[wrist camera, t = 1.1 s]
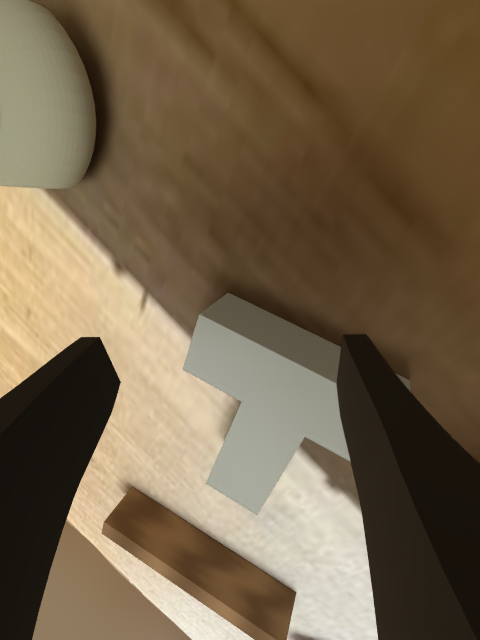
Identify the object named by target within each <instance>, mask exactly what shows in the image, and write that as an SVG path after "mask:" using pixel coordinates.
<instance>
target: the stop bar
mask: <svg viewBox="0 0 480 640" xmlns="http://www.w3.org/2000/svg"><path fill="white" fill-rule="evenodd" d="M102 534H103V535H105V536H106V537H108V538H109V539H110V540H112V541H113V542H115V543H116V544H118V545H119V546H121V547H122V548H123V549H125V550H126V551H128V552H129V553H131V554H132V555H134V556H135V557H136V558H138V559H139V560H141V561H142V562H144V563H145V564H147V565H148V566H149V567H151V568H152V569H154V570H155V571H157V572H158V573H159V574H161V575H162V576H164V577H165V578H167V579H168V580H170V581H171V582H172V583H174V584H175V585H177V586H178V587H180V588H181V589H183V590H184V591H185V592H187V593H188V594H190V595H191V596H193V597H194V598H196V599H197V600H198V601H200V602H201V603H203V604H204V605H206V606H207V607H208V608H210V609H211V610H213V611H214V612H216V613H217V614H219V615H220V616H221V617H223V618H224V619H226V620H227V621H229V622H230V623H232V624H233V625H234V626H236V627H237V628H239V629H240V630H242V631H243V632H244V633H246V634H247V635H249V636H250V637H252V638H253V639H255V640H286V639H287V634H288V630H289V625H290V620H291V615H292V610H293V606H294V601H295V596H296V592H294V591H293V590H291V589H290V588H288V587H287V586H285V585H283V584H282V583H280V582H279V581H277V580H276V579H274V578H273V577H271V576H270V575H268V574H266V573H265V572H263V571H262V570H260V569H259V568H257V567H256V566H254V565H253V564H251V563H249V562H248V561H246V560H245V559H243V558H242V557H240V556H239V555H237V554H236V553H234V552H232V551H231V550H229V549H228V548H226V547H225V546H223V545H222V544H220V543H219V542H217V541H215V540H214V539H212V538H211V537H209V536H208V535H206V534H205V533H203V532H202V531H200V530H198V529H197V528H195V527H194V526H192V525H191V524H189V523H188V522H186V521H185V520H183V519H182V518H180V517H178V516H177V515H175V514H174V513H172V512H171V511H169V510H168V509H166V508H165V507H163V506H161V505H160V504H158V503H157V502H155V501H154V500H152V499H151V498H149V497H148V496H146V495H144V494H143V493H141V492H140V491H138V490H137V489H135V488H134V487H132V488H131V489H130V490H129V492H128V493H127V494H126V495H125V497H124V498H123V499H122V500H121V501H120V503H119V504H118V505H117V506H116V508H115V509H114V510H113V511H112V513H111V514H110V515H109V516H108V518H107V519H106V520H105V521H104V524H103V529H102Z"/></svg>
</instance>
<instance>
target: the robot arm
mask: <svg viewBox="0 0 480 640" xmlns="http://www.w3.org/2000/svg"><path fill="white" fill-rule="evenodd" d="M120 383H121V382H120V380H119V378H118V375H117V373H116V371H115V369H114V367H113V365H112V362H111V360H110V358H109V356H108V354H107V352H106V349H105V347H104V345H103V343H102V341H101V339H100V337H81V338H79V339H78V340H77V341H75V342H74V343H72V344H71V345H70V346H68V347H67V348H66V349H64V350H63V351H62V352H60V353H59V354H58V355H56V356H55V357H54V358H53V359H51V360H50V361H49V362H47V363H46V364H45V365H44V366H42V367H41V368H40V369H38V370H37V371H36V372H35V373H33V374H32V375H31V376H29V377H28V378H27V379H26V380H24V381H23V382H22V383H20V384H19V385H18V386H16V387H15V388H14V389H12V390H11V391H10V392H8V393H7V394H6V395H4V396H3V397H1V398H0V640H32V637H33V633H34V629H35V625H36V621H37V616H38V612H39V608H40V605H41V601H42V598H43V594H44V590H45V587H46V583H47V580H48V576H49V572H50V568H51V565H52V562H53V559H54V556H55V553H56V550H57V546H58V543H59V540H60V537H61V534H62V530H63V527H64V524H65V521H66V519H67V516H68V513H69V510H70V507H71V504H72V501H73V498H74V496H75V493H76V491H77V488H78V486H79V484H80V481H81V479H82V477H83V475H84V472H85V470H86V468H87V466H88V464H89V461H90V459H91V457H92V455H93V453H94V451H95V448H96V446H97V444H98V442H99V440H100V438H101V435H102V433H103V431H104V429H105V426H106V424H107V422H108V420H109V417H110V415H111V413H112V410H113V407H114V403H115V400H116V397H117V393H118V390H119V386H120ZM336 385H337V394H338V403H339V411H340V418H341V423H342V427H343V431H344V436H345V440H346V444H347V448H348V453H349V457H350V461H351V465H352V470H353V474H354V478H355V482H356V487H357V491H358V495H359V500H360V506H361V511H362V517H363V524H364V531H365V538H366V545H367V552H368V560H369V568H370V575H371V583H372V590H373V598H374V607H375V615H376V624H377V632H378V640H480V464H479V463H478V462H477V461H476V460H475V459H474V458H473V457H472V456H471V455H470V454H469V453H468V452H467V451H466V450H464V449H463V448H462V447H461V446H460V445H459V444H458V443H457V442H456V441H455V440H454V439H453V438H452V437H451V436H450V435H449V434H448V432H447V431H446V430H445V429H444V428H443V427H442V426H441V425H440V424H439V423H438V422H437V421H436V420H435V419H434V418H433V417H432V416H431V414H430V413H429V412H428V411H427V410H426V409H425V408H424V407H423V406H422V404H421V403H420V402H419V401H418V400H417V399H416V398H415V396H414V395H413V394H412V393H411V392H410V390H409V389H408V388H407V387H406V386H405V384H404V383H403V382H402V381H401V380H400V378H399V377H398V376H397V375H396V373H395V372H394V371H393V370H392V368H391V367H390V366H389V364H388V363H387V362H386V361H385V359H384V358H383V357H382V355H381V354H380V352H379V351H378V350H377V348H376V347H375V346H374V344H373V343H372V341H371V340H370V338H369V337H368V336H367V335H366V334H353V335H343V336H342V344H341V352H340V359H339V367H338V375H337V383H336Z"/></svg>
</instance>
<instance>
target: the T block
mask: <svg viewBox="0 0 480 640" xmlns="http://www.w3.org/2000/svg"><path fill="white" fill-rule="evenodd" d="M340 352H341V347H340V346H338V345H336V344H334V343H332V342H329V341H327V340H325V339H323V338H321V337H319V336H317V335H315V334H313V333H311V332H309V331H307V330H305V329H303V328H300V327H298V326H296V325H294V324H292V323H290V322H288V321H286V320H284V319H282V318H280V317H278V316H276V315H274V314H272V313H269V312H267V311H265V310H263V309H261V308H259V307H257V306H255V305H253V304H251V303H249V302H247V301H245V300H243V299H240V298H238V297H236V296H234V295H232V294H230V293H227V294H226V295H224V296H223V297H222V298H220V299H219V300H218V301H216V302H215V303H214V304H212V305H211V306H210V307H208V308H207V309H206V310H204V311H203V312H202V313H200V314H199V317H198V320H197V324H196V327H195V330H194V334H193V337H192V340H191V344H190V347H189V350H188V354H187V357H186V360H185V364H184V367H183V370H184V371H186V372H188V373H190V374H192V375H193V376H195V377H197V378H199V379H201V380H203V381H204V382H206V383H208V384H210V385H212V386H214V387H215V388H217V389H219V390H221V391H223V392H224V393H226V394H228V395H230V396H232V397H234V398H235V399H237V400H239V401H241V404H240V406H239V409H238V411H237V413H236V415H235V418H234V420H233V422H232V425H231V427H230V429H229V432H228V434H227V436H226V438H225V441H224V443H223V445H222V448H221V450H220V452H219V454H218V457H217V459H216V461H215V464H214V466H213V468H212V470H211V473H210V475H209V477H208V480H207V482H206V484H207V485H209V486H210V487H212V488H214V489H215V490H217V491H219V492H220V493H222V494H223V495H225V496H227V497H228V498H230V499H232V500H233V501H235V502H236V503H238V504H240V505H241V506H243V507H245V508H246V509H248V510H250V511H251V512H253V513H254V514H256V515H258V513H259V511H260V510H261V508H262V506H263V505H264V503H265V502H266V500H267V498H268V497H269V495H270V493H271V492H272V490H273V488H274V487H275V485H276V483H277V482H278V480H279V478H280V477H281V475H282V474H283V472H284V470H285V469H286V467H287V465H288V464H289V462H290V460H291V459H292V457H293V455H294V454H295V452H296V450H297V449H298V447H299V445H300V444H301V442H302V441H303V439H304V437H307V438H308V439H310V440H312V441H314V442H316V443H318V444H319V445H321V446H323V447H325V448H327V449H328V450H330V451H332V452H334V453H336V454H338V455H339V456H341V457H343V458H345V459H347V460H349V461H350V457H349V453H348V448H347V444H346V440H345V436H344V431H343V427H342V423H341V418H340V411H339V403H338V394H337V385H336V383H337V375H338V367H339V359H340ZM396 375H397V376H398V377H399V378H400V380H401V381H402V382H403V383H404V384H405V386H406V387H407V388H408V389H409V390H410V392H411V387H410V380H408V379H406V378H404V377H402V376H400V375H398V374H396ZM350 462H351V461H350Z"/></svg>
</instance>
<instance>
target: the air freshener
mask: <svg viewBox="0 0 480 640" xmlns="http://www.w3.org/2000/svg"><path fill="white" fill-rule="evenodd" d="M95 137H96V113H95V103H94V98H93V94H92V89H91V85H90V82H89V79H88V76H87V73H86V70H85V67H84V64H83V62H82V60H81V58H80V56H79V54H78V51H77V49H76V47H75V46H74V44H73V42H72V41H71V39H70V38H69V36H68V34H67V33H66V31H65V30H64V28H63V27H62V25H61V24H60V23H59V22H58V21H57V19H56V18H55V17H54V16H53V15H52V13H51V12H50V11H49V10H47V9H46V8H44V7H43V6H41V5H39V4H37V3H34V2H32V1H29V0H0V186H9V187H26V188H75V187H76V186H77V185H78V184H79V182H80V181H81V179H82V178H83V176H84V175H85V173H86V171H87V168H88V166H89V164H90V161H91V158H92V154H93V150H94V145H95Z"/></svg>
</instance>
